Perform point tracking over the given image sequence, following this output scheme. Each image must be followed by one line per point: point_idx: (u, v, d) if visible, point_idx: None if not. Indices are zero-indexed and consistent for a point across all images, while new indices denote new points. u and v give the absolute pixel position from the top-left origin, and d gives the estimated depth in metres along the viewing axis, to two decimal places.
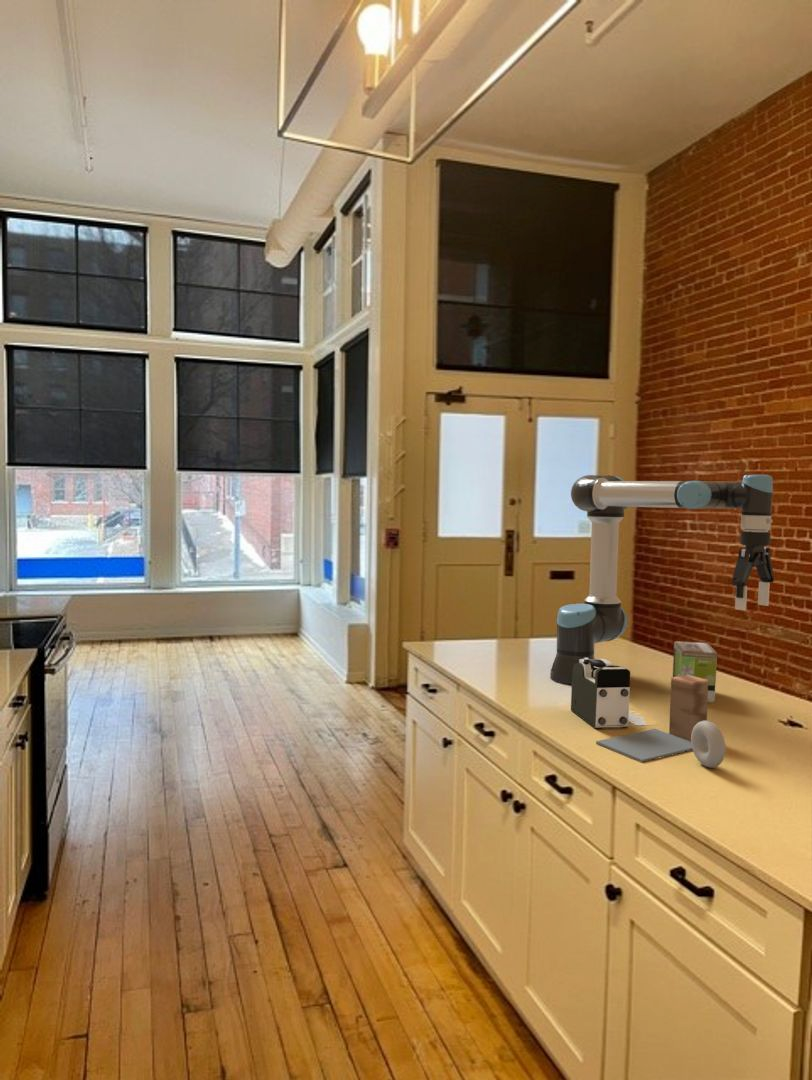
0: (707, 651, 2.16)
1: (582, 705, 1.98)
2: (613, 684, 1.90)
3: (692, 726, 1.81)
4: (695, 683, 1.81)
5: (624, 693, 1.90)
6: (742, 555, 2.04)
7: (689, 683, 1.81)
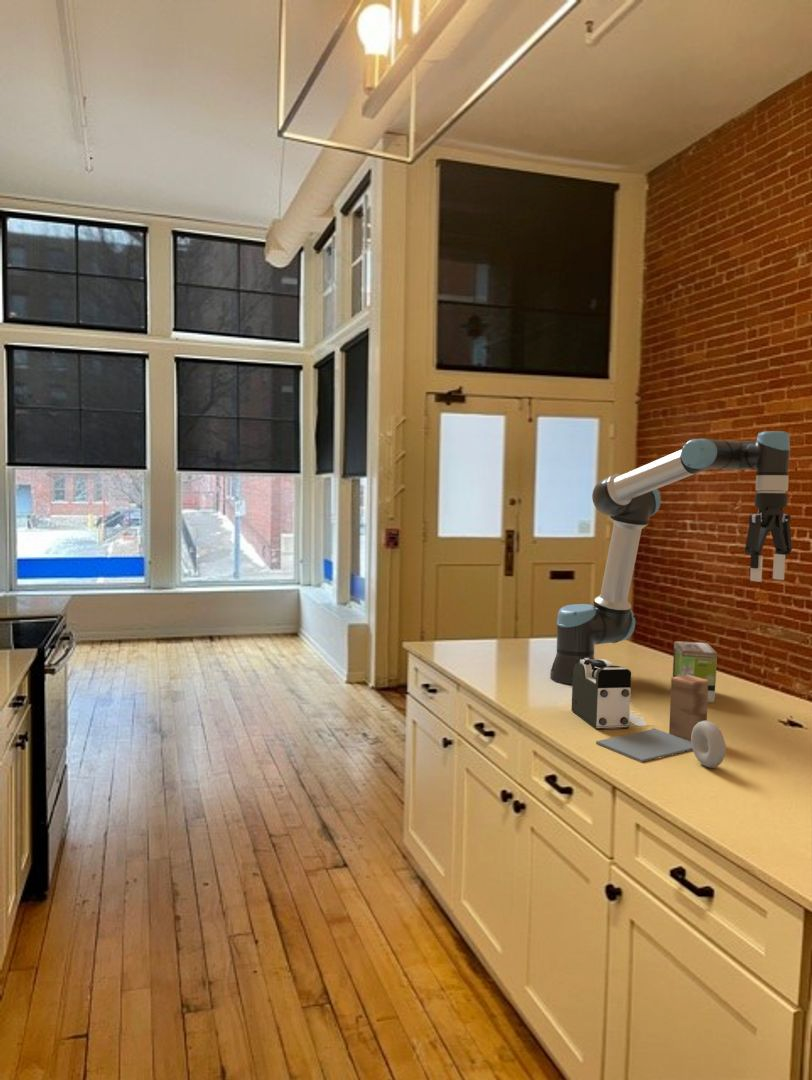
0: (707, 651, 2.16)
1: (583, 705, 1.98)
2: (614, 684, 1.90)
3: (692, 726, 1.81)
4: (695, 683, 1.81)
5: (625, 693, 1.90)
6: None
7: (689, 683, 1.81)
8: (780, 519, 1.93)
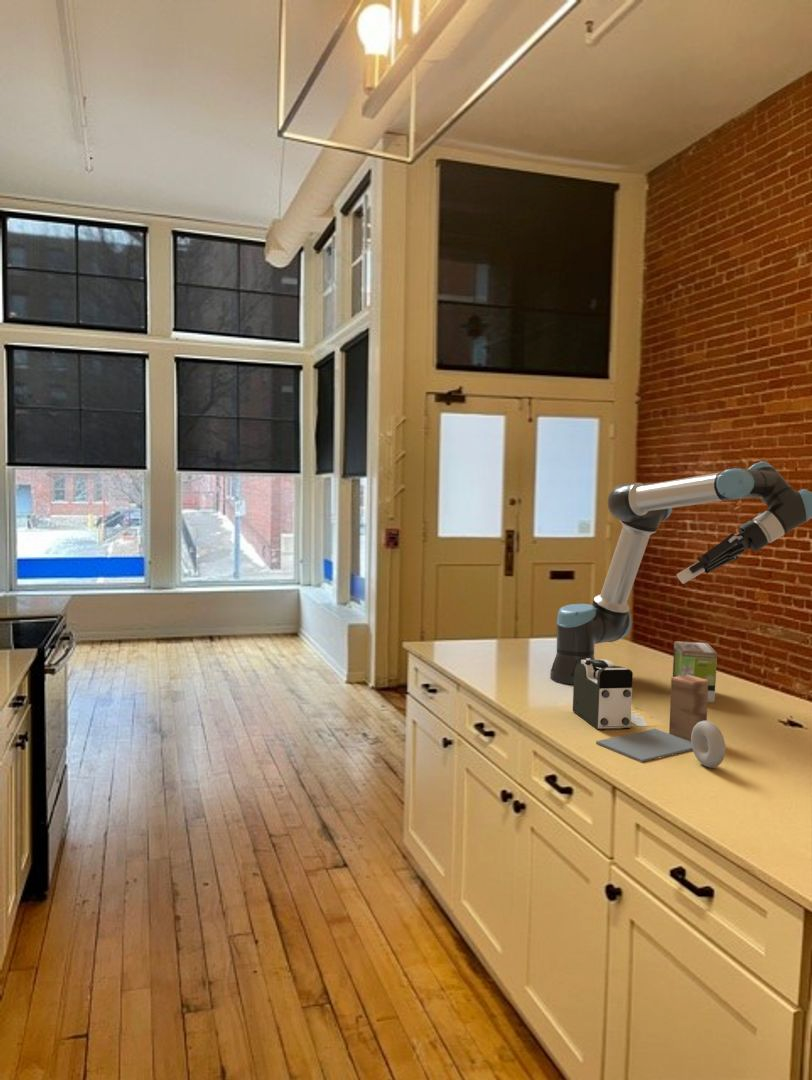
0: (707, 651, 2.16)
1: (584, 705, 1.97)
2: (615, 685, 1.89)
3: (692, 726, 1.81)
4: (695, 683, 1.81)
5: (626, 694, 1.89)
6: None
7: (689, 683, 1.81)
8: (740, 553, 1.97)
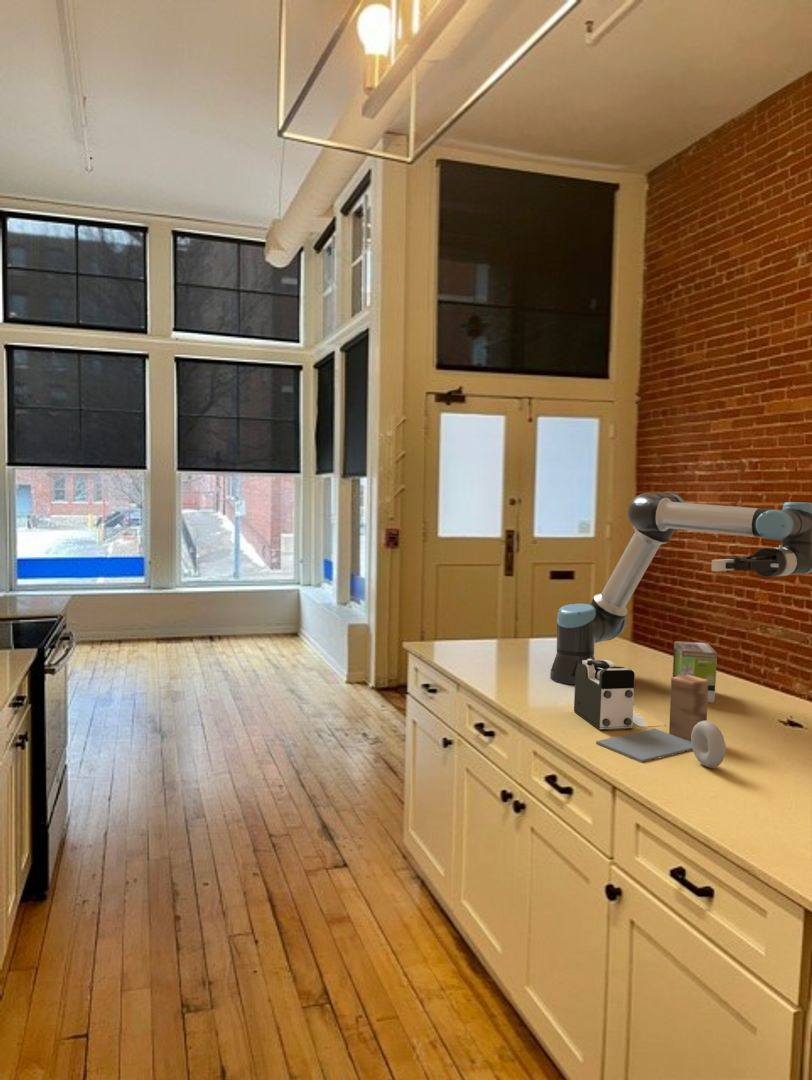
0: (707, 651, 2.16)
1: (585, 706, 1.97)
2: (617, 685, 1.89)
3: (692, 726, 1.81)
4: (695, 683, 1.81)
5: (628, 694, 1.89)
6: None
7: (689, 683, 1.81)
8: None
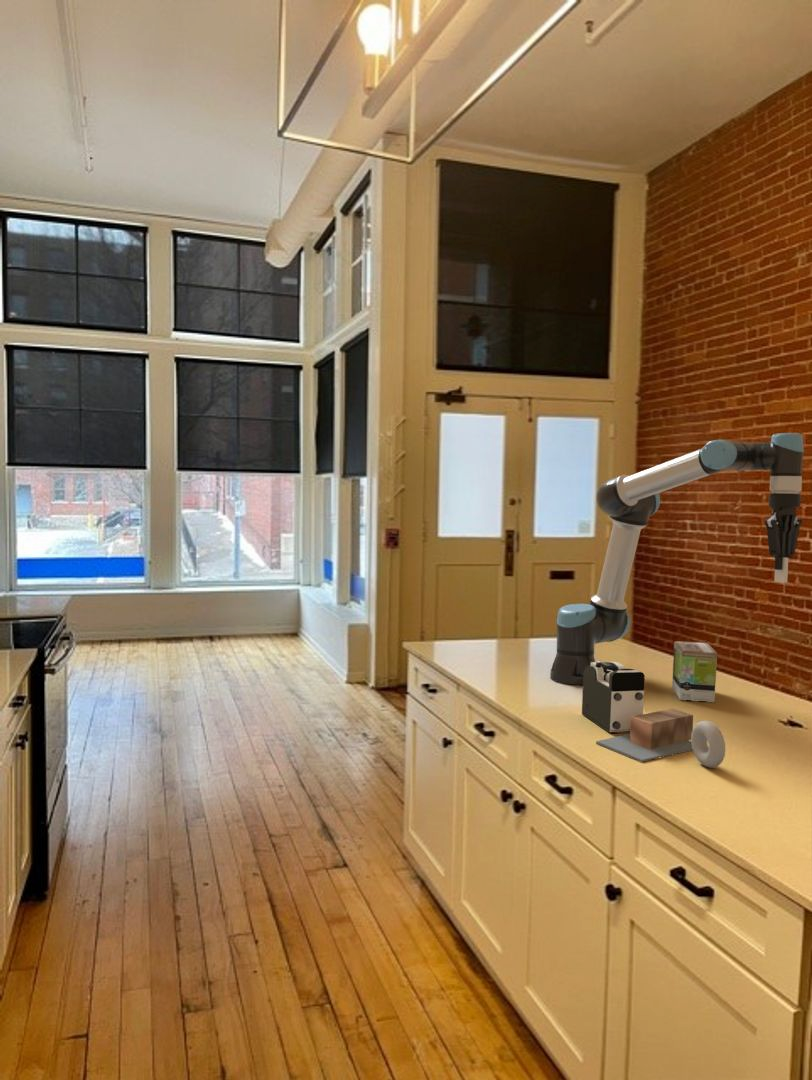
0: (707, 651, 2.16)
1: (594, 709, 1.95)
2: (627, 687, 1.87)
3: (681, 738, 1.79)
4: (650, 743, 1.74)
5: (639, 697, 1.87)
6: None
7: (648, 748, 1.75)
8: (793, 519, 1.98)
